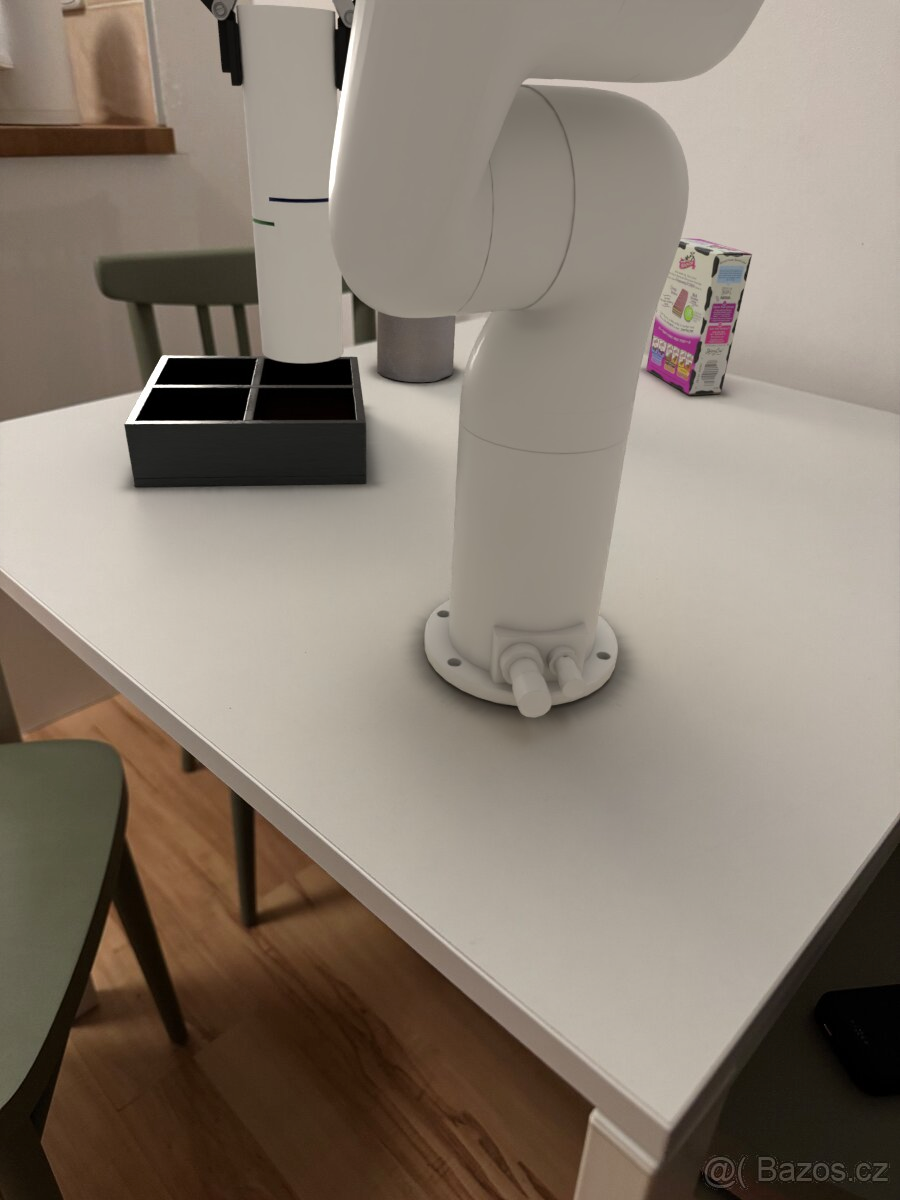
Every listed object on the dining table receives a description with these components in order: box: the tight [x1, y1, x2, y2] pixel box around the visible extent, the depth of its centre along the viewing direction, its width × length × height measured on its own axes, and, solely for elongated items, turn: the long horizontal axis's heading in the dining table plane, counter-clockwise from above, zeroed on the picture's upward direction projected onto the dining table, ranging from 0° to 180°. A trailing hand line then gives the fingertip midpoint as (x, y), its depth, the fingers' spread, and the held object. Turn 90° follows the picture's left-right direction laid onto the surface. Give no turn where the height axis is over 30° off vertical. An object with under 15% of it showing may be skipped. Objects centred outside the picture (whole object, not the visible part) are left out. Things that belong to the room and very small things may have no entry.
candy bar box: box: [645, 237, 753, 396], centre depth 103 cm, size 11×5×16 cm, turn 17°
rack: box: [123, 355, 368, 488], centre depth 82 cm, size 20×20×6 cm
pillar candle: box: [376, 311, 457, 383], centre depth 102 cm, size 10×10×15 cm
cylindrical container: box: [235, 4, 345, 363], centre depth 68 cm, size 7×7×25 cm
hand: (290, 86), depth 64 cm, fingers closed on cylindrical container, 7 cm apart
